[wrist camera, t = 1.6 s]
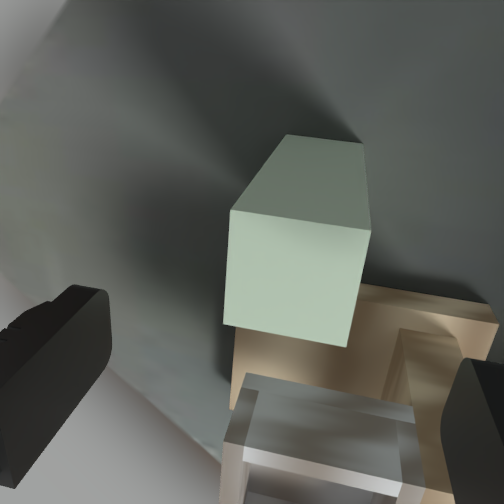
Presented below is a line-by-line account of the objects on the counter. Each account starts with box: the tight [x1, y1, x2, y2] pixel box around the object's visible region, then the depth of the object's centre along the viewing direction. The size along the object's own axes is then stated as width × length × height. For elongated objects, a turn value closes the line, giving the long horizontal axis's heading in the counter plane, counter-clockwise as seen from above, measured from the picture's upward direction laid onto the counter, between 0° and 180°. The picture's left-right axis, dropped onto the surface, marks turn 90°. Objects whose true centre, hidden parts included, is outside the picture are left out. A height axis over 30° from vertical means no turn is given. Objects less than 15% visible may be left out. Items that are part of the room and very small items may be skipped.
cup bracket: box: [219, 283, 499, 504], centre depth 23 cm, size 14×10×12 cm
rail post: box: [223, 134, 371, 347], centre depth 19 cm, size 4×4×12 cm
